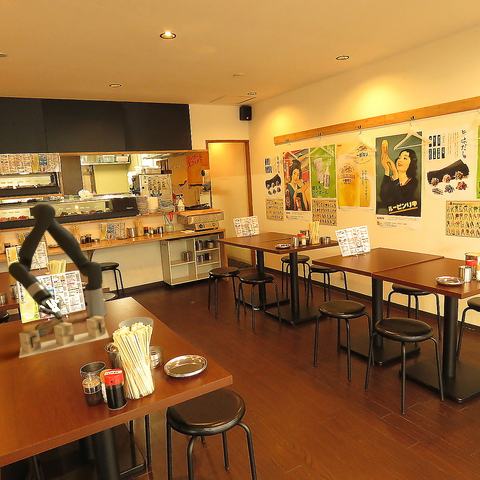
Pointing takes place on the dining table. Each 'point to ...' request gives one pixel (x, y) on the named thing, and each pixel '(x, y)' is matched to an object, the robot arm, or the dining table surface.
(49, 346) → the board
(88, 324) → the marked block 1
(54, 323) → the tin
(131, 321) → the cereal bowl
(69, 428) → the dining table surface
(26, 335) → the marked block 7
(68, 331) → the plain block
